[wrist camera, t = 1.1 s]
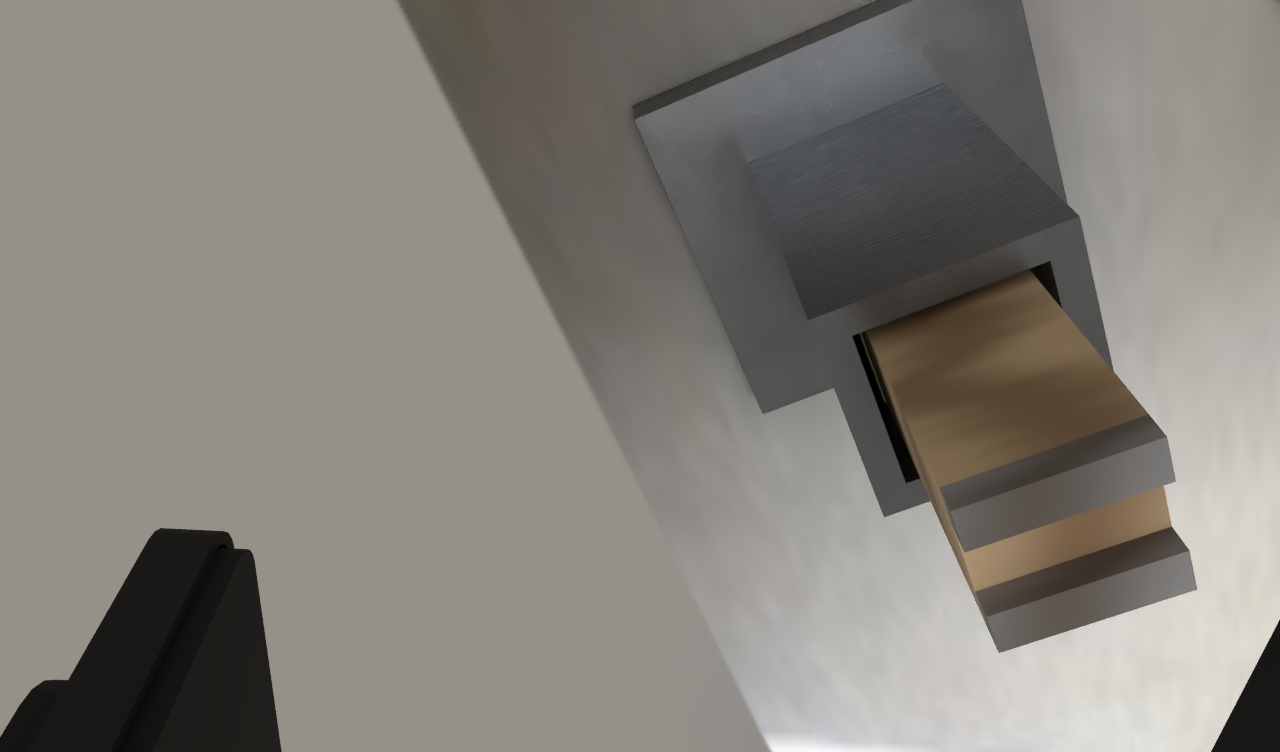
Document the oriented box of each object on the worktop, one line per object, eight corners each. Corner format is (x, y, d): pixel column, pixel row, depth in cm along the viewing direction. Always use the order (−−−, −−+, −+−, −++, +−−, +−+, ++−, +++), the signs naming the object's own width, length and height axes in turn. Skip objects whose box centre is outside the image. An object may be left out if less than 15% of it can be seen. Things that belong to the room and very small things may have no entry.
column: (918, 131, 37) (1168, 433, 21) (951, 241, 39) (1199, 590, 23) (794, 181, 38) (947, 510, 22) (832, 287, 40) (997, 655, 24)
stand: (996, -51, 36) (1185, 52, 24) (1072, 275, 42) (1249, 475, 31) (632, 106, 38) (654, 266, 27) (757, 393, 44) (817, 620, 33)
